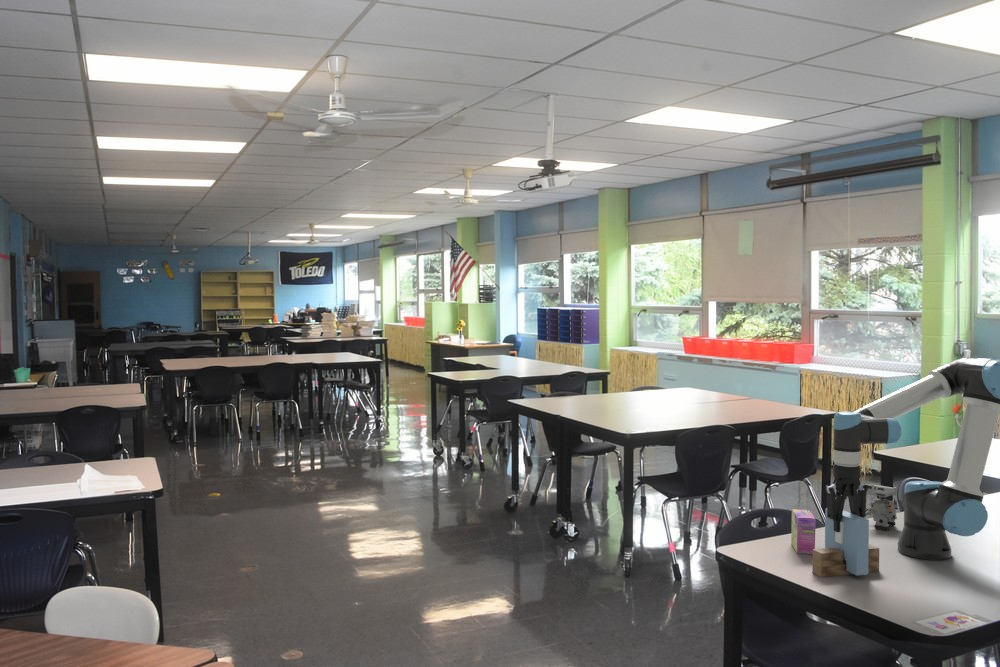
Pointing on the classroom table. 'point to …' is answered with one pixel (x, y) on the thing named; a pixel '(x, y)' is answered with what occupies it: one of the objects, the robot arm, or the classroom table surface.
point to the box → (803, 531)
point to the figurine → (882, 506)
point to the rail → (839, 561)
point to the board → (851, 541)
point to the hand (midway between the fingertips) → (846, 541)
